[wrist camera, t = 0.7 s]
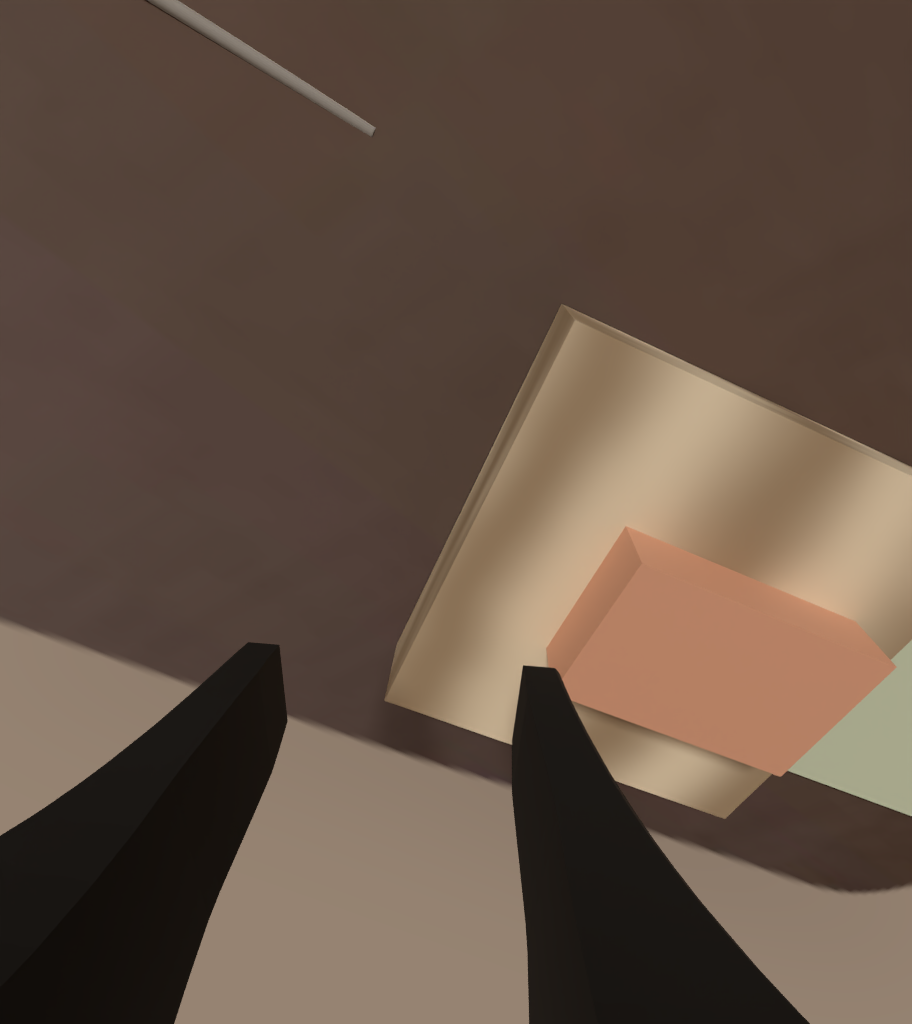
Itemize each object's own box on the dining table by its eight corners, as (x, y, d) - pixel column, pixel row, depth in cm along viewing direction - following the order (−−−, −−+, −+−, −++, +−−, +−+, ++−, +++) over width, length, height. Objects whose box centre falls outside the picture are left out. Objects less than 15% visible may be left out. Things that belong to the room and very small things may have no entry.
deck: (396, 644, 23) (384, 700, 20) (561, 303, 17) (575, 319, 14) (699, 753, 25) (725, 818, 22) (949, 484, 18) (1027, 529, 16)
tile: (546, 648, 19) (552, 693, 17) (625, 525, 16) (641, 563, 15) (754, 726, 20) (780, 776, 18) (855, 621, 17) (897, 667, 16)
